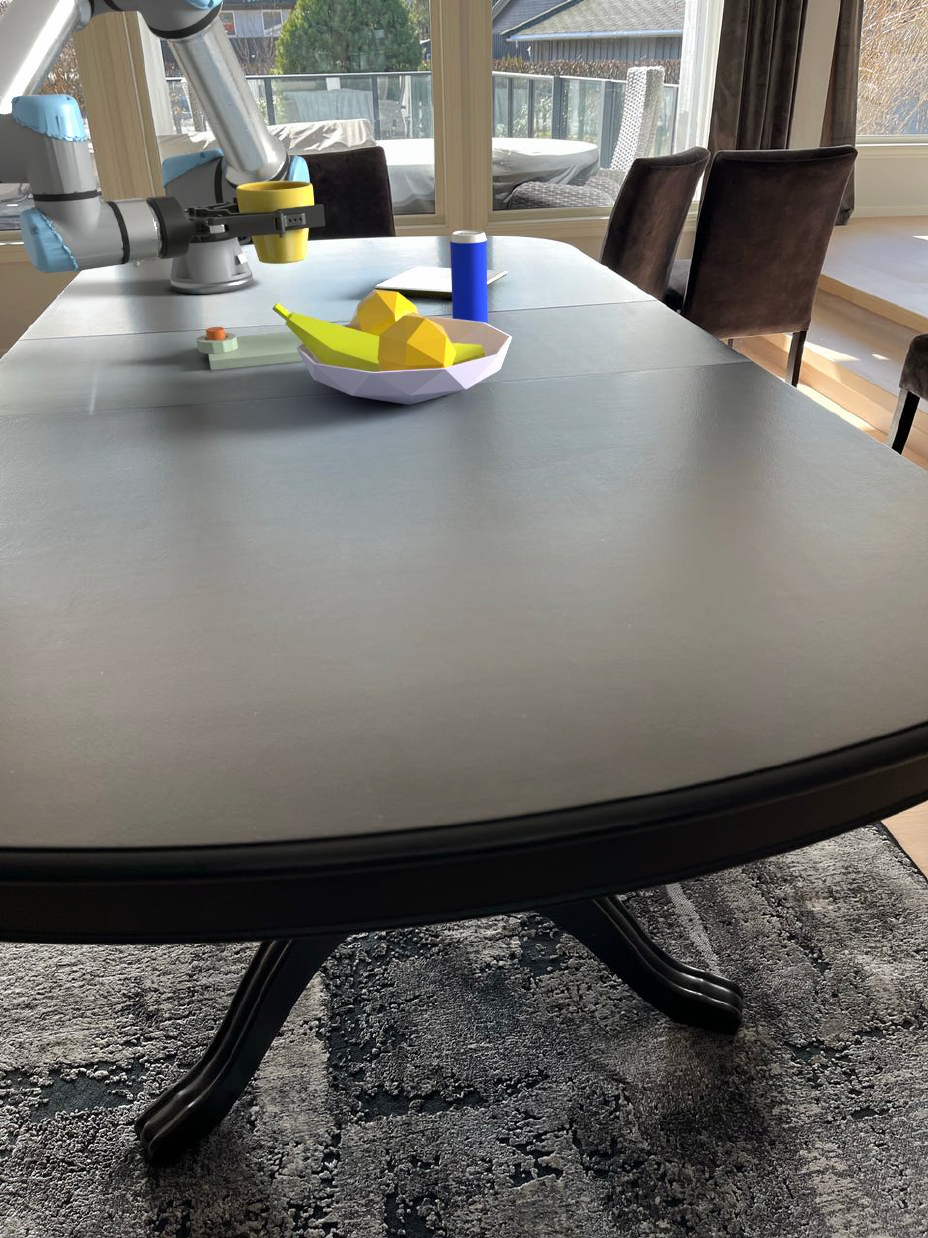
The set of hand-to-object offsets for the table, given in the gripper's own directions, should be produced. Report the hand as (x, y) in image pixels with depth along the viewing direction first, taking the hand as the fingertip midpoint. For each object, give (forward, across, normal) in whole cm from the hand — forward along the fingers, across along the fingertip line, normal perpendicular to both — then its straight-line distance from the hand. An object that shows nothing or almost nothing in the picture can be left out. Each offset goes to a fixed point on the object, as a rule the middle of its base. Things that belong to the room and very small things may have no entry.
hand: (304, 211), depth 133 cm
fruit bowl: (-3, +28, -18) cm, 34 cm away
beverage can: (+18, +15, -18) cm, 30 cm away
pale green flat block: (-9, +1, -18) cm, 20 cm away
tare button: (-15, -1, -16) cm, 22 cm away
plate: (+35, -17, -18) cm, 43 cm away
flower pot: (-4, 0, -6) cm, 7 cm away
